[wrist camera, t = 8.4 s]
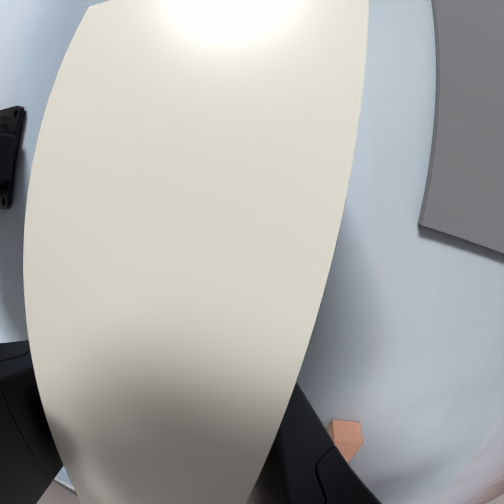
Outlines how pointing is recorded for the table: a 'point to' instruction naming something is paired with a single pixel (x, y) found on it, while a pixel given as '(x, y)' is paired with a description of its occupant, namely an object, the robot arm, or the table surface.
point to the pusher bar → (186, 235)
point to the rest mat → (468, 124)
